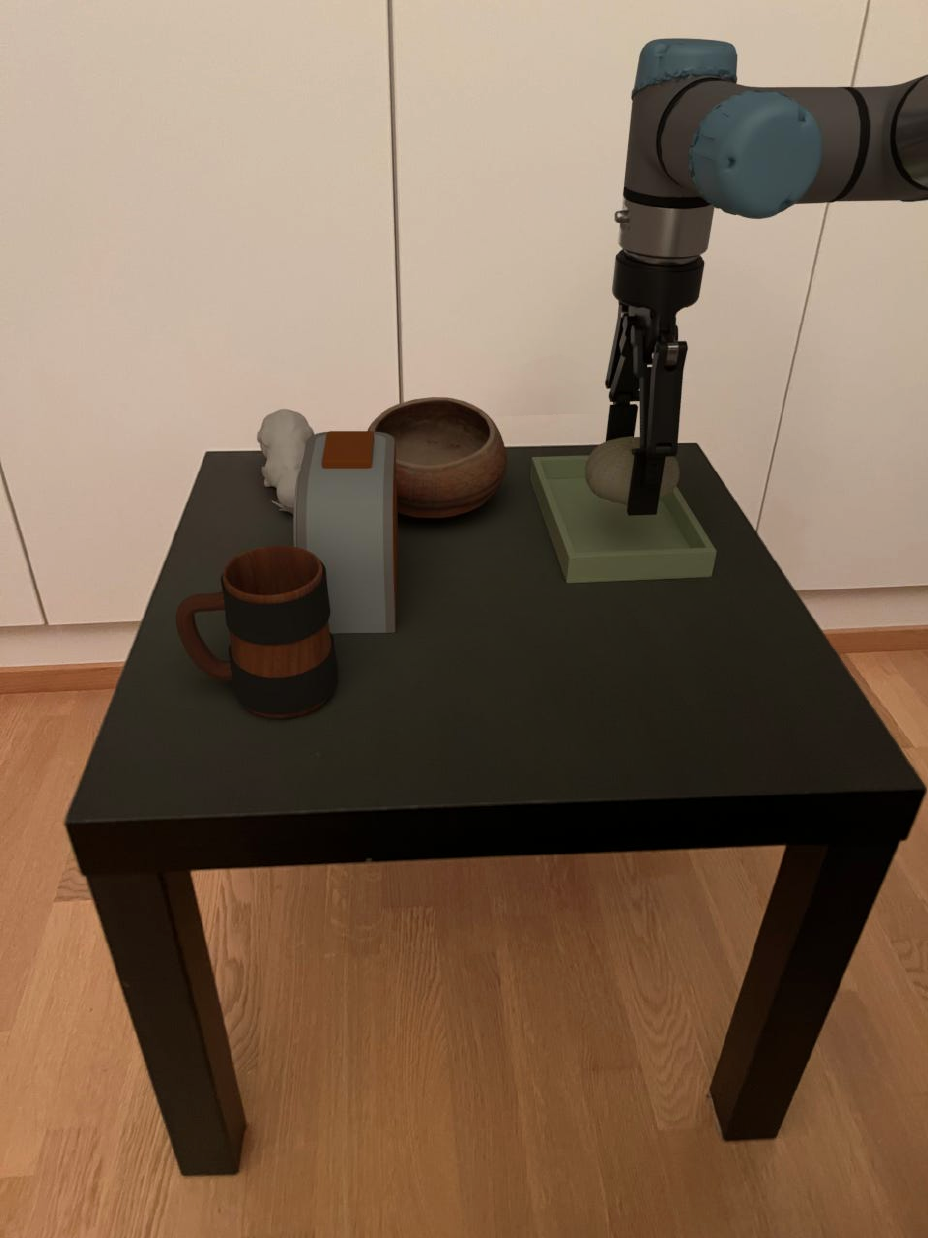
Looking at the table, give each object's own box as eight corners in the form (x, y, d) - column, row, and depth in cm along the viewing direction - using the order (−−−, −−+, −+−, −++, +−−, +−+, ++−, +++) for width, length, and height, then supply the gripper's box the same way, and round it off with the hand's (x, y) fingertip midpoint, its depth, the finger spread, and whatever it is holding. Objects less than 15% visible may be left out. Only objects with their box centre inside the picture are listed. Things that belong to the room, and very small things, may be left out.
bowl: (346, 531, 99) (341, 444, 94) (380, 465, 112) (377, 384, 106) (494, 546, 98) (498, 458, 92) (512, 477, 110) (516, 395, 104)
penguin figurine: (310, 400, 105) (323, 456, 96) (315, 466, 111) (328, 525, 102) (252, 404, 104) (260, 461, 95) (260, 470, 110) (268, 531, 101)
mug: (190, 669, 80) (167, 551, 74) (331, 650, 83) (322, 535, 76) (191, 737, 74) (167, 615, 67) (345, 714, 76) (337, 594, 69)
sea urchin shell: (705, 476, 92) (672, 436, 86) (655, 541, 93) (619, 506, 87) (640, 441, 98) (605, 401, 92) (594, 502, 99) (556, 467, 93)
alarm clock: (315, 546, 97) (304, 423, 89) (398, 546, 97) (395, 423, 89) (300, 633, 85) (287, 499, 77) (396, 632, 85) (392, 499, 77)
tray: (711, 577, 94) (717, 551, 92) (566, 583, 92) (569, 557, 90) (652, 476, 111) (656, 452, 109) (530, 480, 110) (531, 456, 108)
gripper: (589, 220, 89) (569, 441, 102) (652, 292, 71) (617, 548, 84) (667, 220, 90) (637, 439, 103) (748, 291, 72) (699, 544, 85)
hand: (628, 488), depth 94 cm, fingers closed on sea urchin shell, 9 cm apart
